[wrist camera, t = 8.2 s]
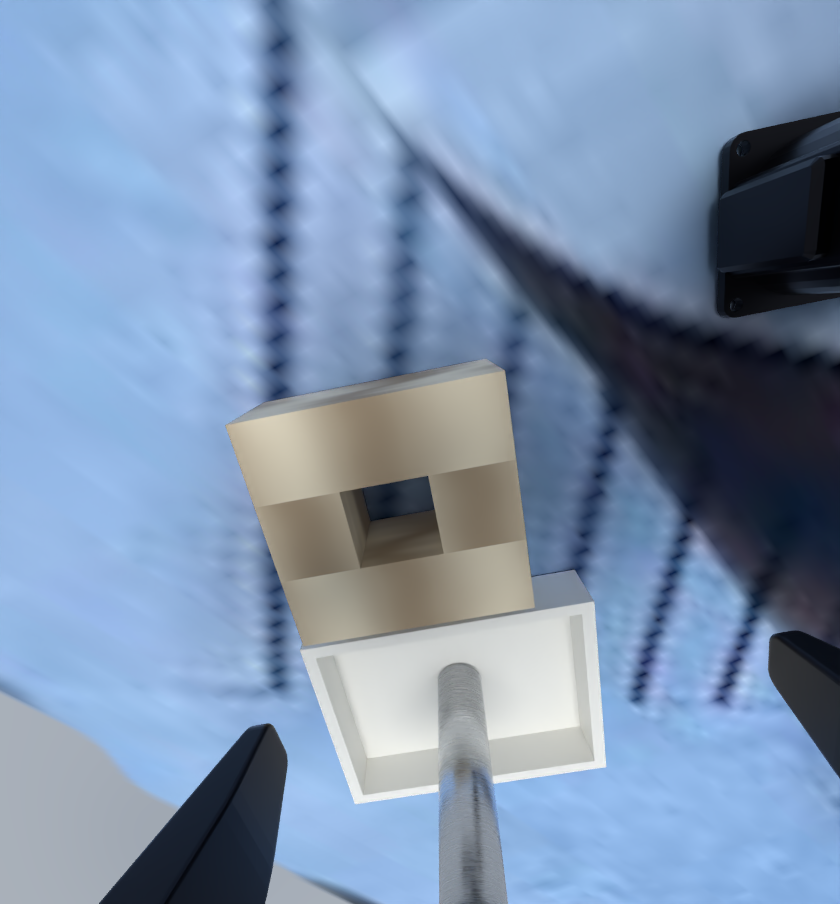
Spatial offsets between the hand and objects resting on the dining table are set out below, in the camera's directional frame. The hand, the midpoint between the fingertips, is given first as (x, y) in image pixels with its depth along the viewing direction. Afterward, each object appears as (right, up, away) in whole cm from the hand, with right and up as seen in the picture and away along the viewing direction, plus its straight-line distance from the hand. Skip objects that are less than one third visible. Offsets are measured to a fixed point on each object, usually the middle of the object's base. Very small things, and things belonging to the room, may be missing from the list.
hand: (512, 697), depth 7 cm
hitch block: (-3, +3, +12) cm, 13 cm away
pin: (0, -8, +16) cm, 18 cm away
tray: (0, -8, +16) cm, 18 cm away
